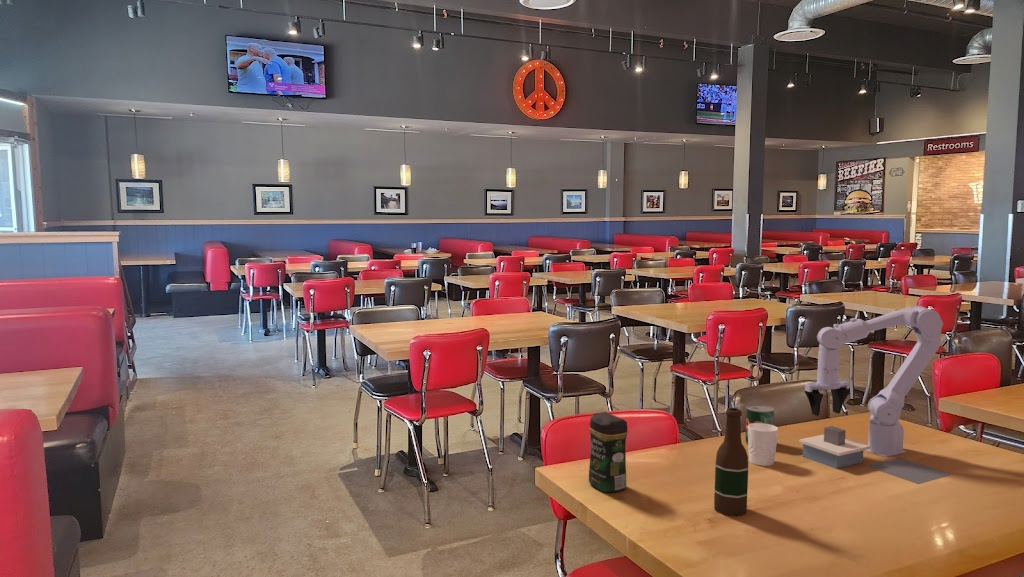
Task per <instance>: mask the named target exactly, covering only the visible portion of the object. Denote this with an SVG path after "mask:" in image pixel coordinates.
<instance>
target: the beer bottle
mask: <svg viewBox="0 0 1024 577" xmlns="http://www.w3.org/2000/svg"><path fill="white" fill-rule="evenodd" d="M725 415H726V421H725V433H724V438H723V442H721V444H720V446H718V448H717V451H716V458H715V468H714V469H715V471H714V496H713V498H714V502H713V505H714V506H713V507H714V511H716V512H717V513H719V514H721V515H723V516H729V517H739V516H743V515H746V514H747V506H748V486H749V485H748V484H749V454H748V453H747V449H746V448H745V446H744V444H743V441H742V431H741V430H742V429H741V428H742V424H741V420H742V419H741V417H742V415H743V412H742V410H741V409H740V408H737V407H729V408H726V411H725Z"/></svg>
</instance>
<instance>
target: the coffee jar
mask: <svg viewBox="0 0 1024 577" xmlns="http://www.w3.org/2000/svg"><path fill="white" fill-rule="evenodd" d="M589 434H590V450H589V451H590V453H589V456H590V457H589V465H588V467H589V469H588V483H589V484H590V485H591V486H592V487H594V488H595V489H598V490H600V491H601V492H604V493H619V492H620V491H623V490H625V489H626V487H627V466H626V465H627V462H626V457H627V456H626V452H627V451H626V443H627V437H628V422H627V420H625V419H623V418H621V417H619V416H616V415H614V414H611V413H608V412H607V411H601V412H596V413H593V414H592V416H591V417H590V422H589Z"/></svg>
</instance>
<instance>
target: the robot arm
mask: <svg viewBox="0 0 1024 577" xmlns="http://www.w3.org/2000/svg"><path fill="white" fill-rule="evenodd" d="M899 325H901V326H905V327H910V328H911V330H913V332H914V335H915V337H916V340H917V342H916V343H915V345H914V346H913V348H912V349H911V351H910V352H909V354H908V355H907V357H906V358H905V359H904V361H903V362H902V363H901V365H900V367H899V369H898V370H897V371H896V373H895V374H894V376H893V377H892V379H891V380H890V382H889V383H888V385H887V386H886V387H885V388H884V387H883V389H881V390H879V392H878V394H877V395H875V396H873V397H872V398H870V399H869V401H868V402H867V403H868V404H867V409H868V411H869V412H870V414H871V415H870V417H869V421H868V435H867V436H868V437H867V438H868V439H867V445H869V446H870V449H867V450H865V452H869V453H871V454H872V453H873V454H876V455H879V456H881V457H885V458H887V457H890V456H895V455H899V454H903V453H906V450H904V438H905V437H904V436H905V430H904V427H903V425H902V424H901V423H900V422H899V421H900V418H901V413H902V409H903V408H904V407H905V398H906V397H907V394H908V393H909V392H910V390H911V389H912V388H913V386H914V385H915V383H916V382H917V380H918V378H919V377H920V376H921V375H922V373H923V371H924V370H925V369H926V367H927V366H928V365H929V363H930V362H931V360H932V359H933V357H934V355H935V354H936V352H937V351H938V350H939V348H940V346H941V342H942V328H943V326H944V322H943V320H942V318H941V316H940V313H938V311H936V310H934V309H929V308H927V307H925V306H922V305H913V306H910V307H903V308H899V309H897V310H894V311H891V312H888V313H886V314H882V315H879V316H877V317H874V318H871V319H868V320H863V319H862V318H855V317H851V318H850V319H849V321H845V322H843V323H840V324H837V323H834V324H833V327H831V326H826V327H822V328H820V330H819V331H818V333H817V335H816V339H817V342H818V343H819V345H818V353H817V355H818V356H817V375H816V376H817V377H816V381H814V382H809V383H805V384H804V394H805V395H806V398H807V400H808V402H809V404H810V406H809V407H810V410H811V413H812V414H811V415H813V416H816V417H818V416H820V413H821V404H822V400H823V397H824V394H823V393H822V392H821V393H820V391H828V390H829V391H830V393H831V396H832V412H833V413H835V414H839V415H840V413H841V411H842V407H843V405H844V403H845V401H846V399H847V398H848V396H849V395H850V392H851V391H850V387H851V386H850V383H851V382H850V381H847V380H839V379H840V378H839V375H840V359H841V358H840V356H841V355H840V350H841V349H840V348H841V347H842V345H843V344H844V345H845V344H849V343H852V342H855V341H859V340H862V339H865V338H867V337H868V335H869V334H870V333H871V332H874V331H878V330H879V331H880V330H883V329H888V328H892V327H894V326H899Z"/></svg>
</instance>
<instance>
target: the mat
mask: <svg viewBox="0 0 1024 577" xmlns="http://www.w3.org/2000/svg"><path fill="white" fill-rule="evenodd" d="M865 467H867V468H870V469H873V470H876V471H878V472H882V473H885V474H887V475H891V476H893V477H896V478H899V479H902V480H905V481H908V482H911V483H913V484H916V485H921V484H924V483H927V482H930V481H935V480H939V479H941V478H945V477H950V476H952V475H953V473H950V472H948V471H944V470H940V469H937V468H934V467H931V466H928V465H926V464H921V463H919V462H916V461H912V460H909V459H905V458H903V457H895V458H891V459H886V460H882V461H878V462H875V463H870V464H866V465H865Z"/></svg>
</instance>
